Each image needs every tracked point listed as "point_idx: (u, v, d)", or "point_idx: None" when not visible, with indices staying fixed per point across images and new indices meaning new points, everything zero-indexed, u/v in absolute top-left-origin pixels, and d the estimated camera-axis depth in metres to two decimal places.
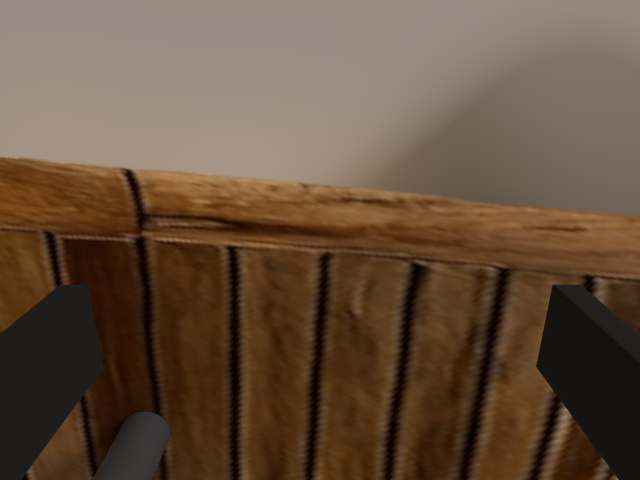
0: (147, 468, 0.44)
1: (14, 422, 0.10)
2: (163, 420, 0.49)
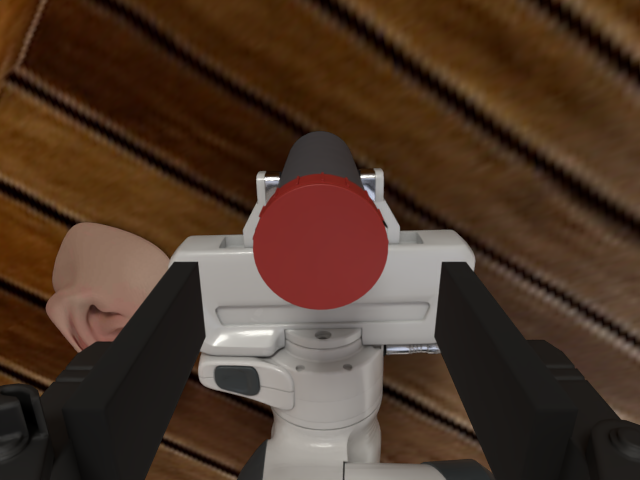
0: (326, 143, 0.29)
1: (165, 374, 0.11)
2: None
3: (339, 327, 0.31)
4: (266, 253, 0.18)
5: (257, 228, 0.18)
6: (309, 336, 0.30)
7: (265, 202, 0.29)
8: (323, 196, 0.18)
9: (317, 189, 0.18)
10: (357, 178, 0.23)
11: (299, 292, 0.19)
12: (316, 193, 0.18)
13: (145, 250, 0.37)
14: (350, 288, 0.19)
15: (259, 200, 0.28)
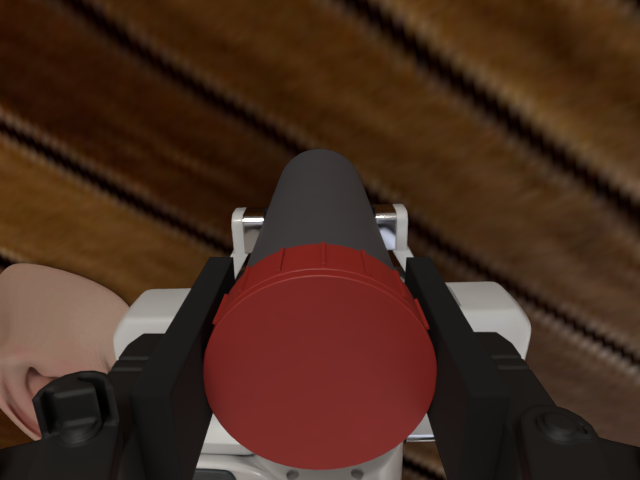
0: (328, 170, 0.21)
1: None
2: (315, 149, 0.27)
3: None
4: (226, 386, 0.11)
5: (209, 347, 0.10)
6: None
7: (244, 252, 0.21)
8: (325, 295, 0.10)
9: (314, 284, 0.10)
10: (375, 232, 0.15)
11: (284, 444, 0.11)
12: (312, 290, 0.10)
13: (98, 298, 0.29)
14: (370, 439, 0.11)
15: (236, 249, 0.21)
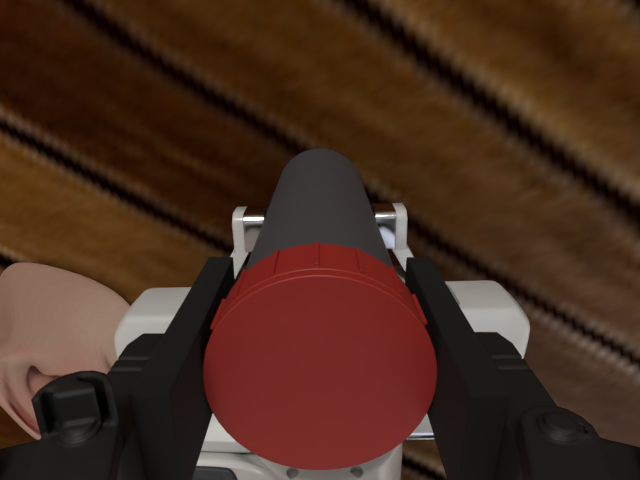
0: (328, 169, 0.21)
1: None
2: (315, 149, 0.27)
3: None
4: (321, 454, 0.11)
5: (278, 463, 0.12)
6: None
7: (245, 250, 0.21)
8: (222, 375, 0.11)
9: (211, 383, 0.11)
10: (375, 231, 0.16)
11: (397, 414, 0.11)
12: (218, 384, 0.11)
13: (99, 297, 0.29)
14: (398, 338, 0.10)
15: (236, 248, 0.21)
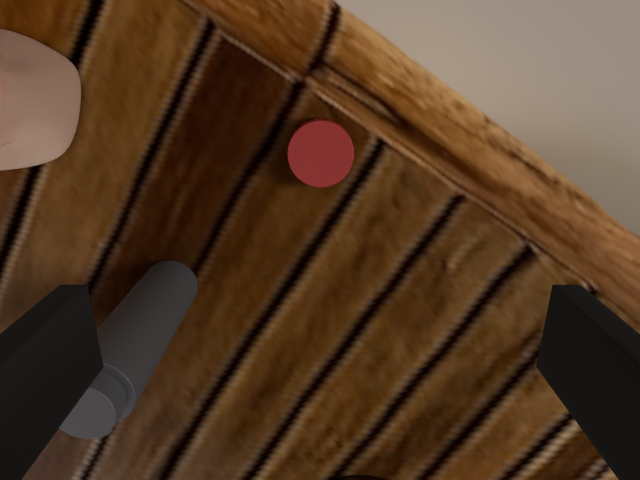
0: (179, 319, 0.38)
1: (15, 422, 0.10)
2: (196, 282, 0.44)
3: None
4: (322, 127, 0.37)
5: (335, 125, 0.37)
6: None
7: None
8: (347, 159, 0.38)
9: (351, 156, 0.38)
10: None
11: (298, 141, 0.37)
12: (349, 156, 0.38)
13: (62, 138, 0.38)
14: (298, 167, 0.38)
15: None
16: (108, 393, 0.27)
